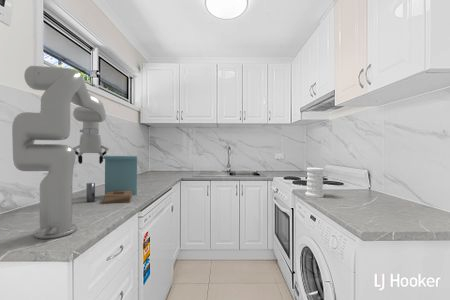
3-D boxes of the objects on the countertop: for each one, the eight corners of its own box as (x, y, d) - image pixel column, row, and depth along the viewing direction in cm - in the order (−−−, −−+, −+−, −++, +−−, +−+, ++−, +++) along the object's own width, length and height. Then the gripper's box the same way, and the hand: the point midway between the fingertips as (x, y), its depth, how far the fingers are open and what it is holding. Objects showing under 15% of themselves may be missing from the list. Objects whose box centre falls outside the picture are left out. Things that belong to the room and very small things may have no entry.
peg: (93, 202, 127) (94, 183, 127) (85, 202, 126) (85, 184, 126) (95, 200, 131) (95, 182, 131) (87, 200, 130) (87, 182, 130)
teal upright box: (136, 196, 142) (136, 156, 141) (103, 198, 136) (103, 156, 136) (136, 194, 149) (137, 155, 148) (105, 195, 143) (105, 155, 143)
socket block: (129, 202, 128) (129, 195, 128) (103, 203, 125) (103, 196, 124) (131, 197, 141) (131, 190, 141) (107, 198, 137) (107, 191, 137)
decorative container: (315, 198, 148) (316, 169, 148) (301, 194, 158) (302, 167, 158) (327, 196, 154) (328, 169, 153) (313, 192, 164) (314, 167, 163)
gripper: (70, 131, 121) (70, 164, 122) (107, 132, 127) (107, 164, 127) (74, 131, 128) (74, 162, 129) (109, 132, 134) (109, 162, 134)
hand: (90, 163), depth 128 cm, fingers open, 9 cm apart
